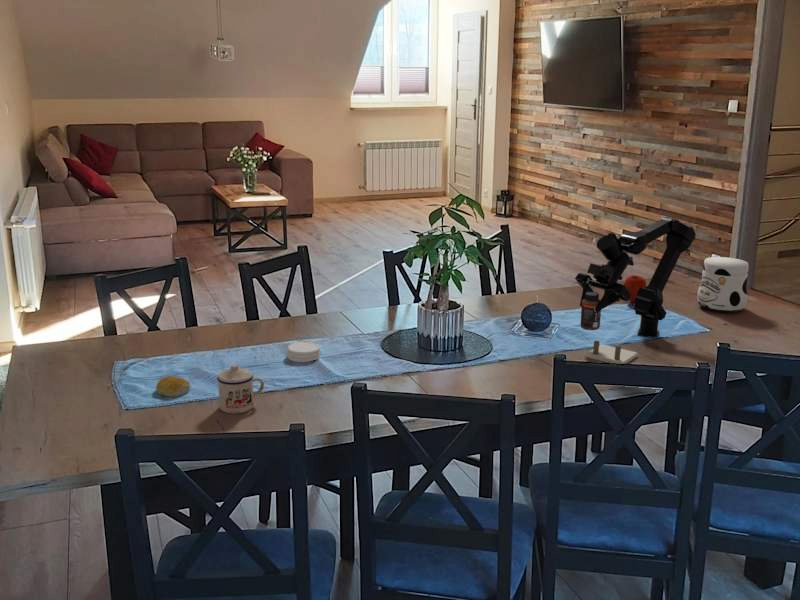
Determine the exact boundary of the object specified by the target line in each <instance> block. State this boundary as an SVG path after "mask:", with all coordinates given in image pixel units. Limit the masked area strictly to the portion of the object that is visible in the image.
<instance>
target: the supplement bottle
mask: <svg viewBox="0 0 800 600" xmlns="http://www.w3.org/2000/svg"><path fill="white" fill-rule="evenodd" d="M585 297H586V298H585V299H583V301H582V307H581V309H580V311H581V312H580V327H581V329H583V330H586V331H597V330H599V329H600V327H601V314H602V313H601V312H602V310H600V311H598V312H596V311H595V309H596V307H597V305H598V303H599V302H600V300H601V299H599V297H600V295H599V292H597V291H594V292H587V293H586V296H585Z"/></svg>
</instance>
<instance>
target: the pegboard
mask: <svg viewBox="0 0 800 600" xmlns="http://www.w3.org/2000/svg"><path fill="white" fill-rule="evenodd" d="M585 357H586V358H589V359H592V360H596V361H601V362H605V363H608V362H611V363H610V364H612V363H626V364H628V363H629V362H631V361H633V360H634V359H635V358H637V357H638V352H635V351H632V350H628V349H624V348H622V347H621V346H620V345H615V347H614V346H611V345H606V344H600V341H599V340H594V341H593V349H591V350H589V351H587V352H586V353H585Z"/></svg>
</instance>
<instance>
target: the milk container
mask: <svg viewBox="0 0 800 600" xmlns="http://www.w3.org/2000/svg"><path fill="white" fill-rule="evenodd" d="M702 268H703V269H702V273H701V274H702V275H701V281H700V285H699V287H698V289H697V292H696V293H697V295H696V296H697V297H696V300H697V304H698V305H700V306H701V307H702V308H704V309H706V310H709V311H714V312H720V313H737V312H740V311H742V310H743V309H745V307H746V305H747V304H748V303H747V302H748V292H747V291H748V290H747V283H748V278H749V275H748V274H749V271H750V270H749V263H748V261H746V260H743V259H741V258H734V257H726V256H711V257H706V258H704V261H703V266H702Z"/></svg>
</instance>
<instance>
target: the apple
mask: <svg viewBox="0 0 800 600" xmlns="http://www.w3.org/2000/svg"><path fill="white" fill-rule="evenodd" d="M623 282H624V283H623V285H625V286H626V288H627V289H628V290H629V291H630V293H631V297H630V299H629V300H628V302H630V303H631V304H634V300H635V296H636V295H637V293H638V291H639V289H640V288H641V287H642V288H645V287H647V282H646V279H645V278H644V277H642V276H639V275H634V274H633V275H630V276H627V277H626V278H625V280H624V281H623Z"/></svg>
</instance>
